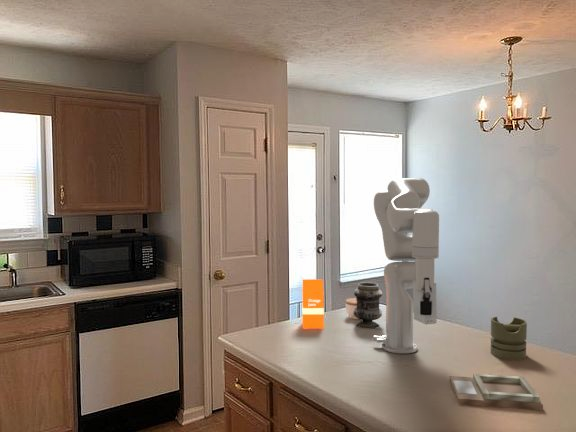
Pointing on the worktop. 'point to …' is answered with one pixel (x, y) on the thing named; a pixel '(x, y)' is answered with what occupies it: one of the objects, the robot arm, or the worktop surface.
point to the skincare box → (416, 301)
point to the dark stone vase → (367, 305)
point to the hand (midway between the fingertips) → (424, 310)
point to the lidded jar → (351, 307)
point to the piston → (509, 339)
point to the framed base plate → (495, 391)
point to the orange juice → (313, 303)
